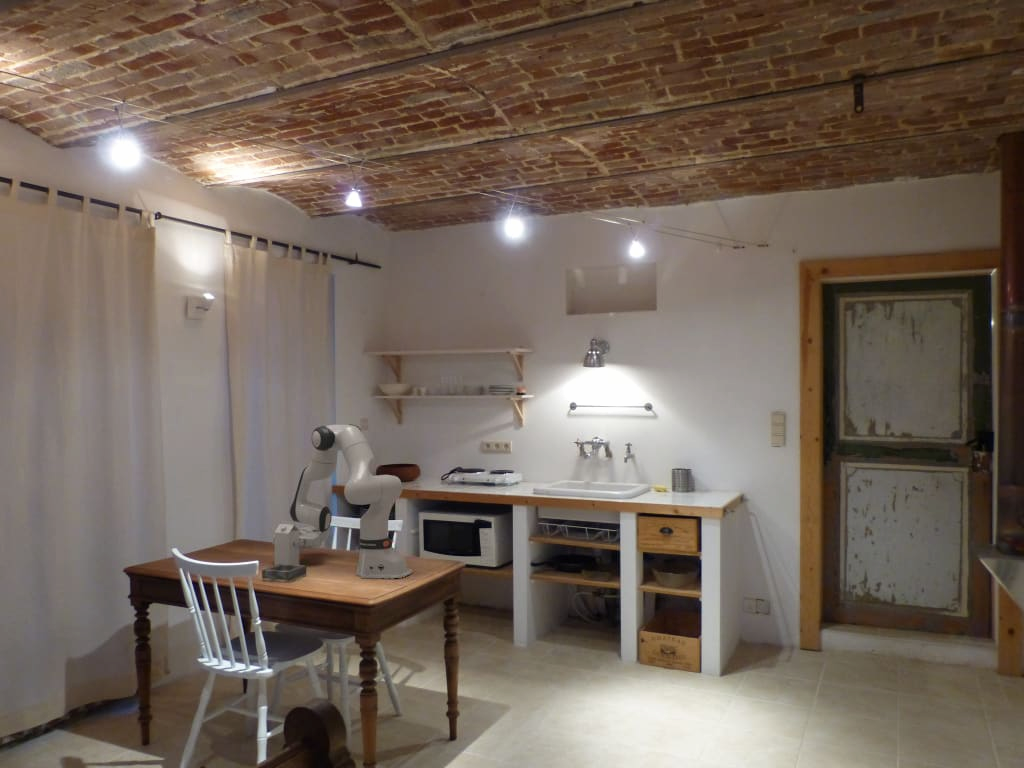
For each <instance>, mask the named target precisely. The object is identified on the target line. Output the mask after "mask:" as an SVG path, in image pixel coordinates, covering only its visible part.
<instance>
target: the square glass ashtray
mask: <svg viewBox="0 0 1024 768" xmlns="http://www.w3.org/2000/svg"><path fill="white" fill-rule="evenodd" d="M305 575H306V576H307V565H306V564H304V565H303V564H302V565H301V564H299V565H290V564H278V565H276V566H275V565H273V566H271V567H270V566H269V567H268V568H265V569H262V570H261V581H262V580H269V581H268V582H273V581H284V582H283V583H286V582H290V581H292V582H294V581H293V580H295V581H297V580H299V579H298V578H300V577H302V578H304V577H303V576H305ZM306 576H305V577H306ZM296 579H297V580H296ZM300 579H301V578H300ZM290 583H291V582H290Z"/></svg>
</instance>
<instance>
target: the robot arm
mask: <svg viewBox="0 0 1024 768" xmlns="http://www.w3.org/2000/svg"><path fill="white" fill-rule="evenodd" d="M311 442H312V446H313V447H312V451H311V456H310V463H309V465H307V466H306V467H304V469H303V470H302V472H301V475H300V477H299V480H298V484H297V487H296V491H295V496H294V498H293V501H292V503H291V506H290V509H289V515H290V519H291V520H292V522H294V523H295V522H296V523H300V524H301V523H302V524H306V525H307V526H304V527H301V528H298V529H299V541H295V542H293V546H299V549H300V550H301V549H304V550H305V549H309V548H320V547H321V546H322V543H323V542H326V540H327V539H328V538H329V536H330V534H331V528H330V526H331V523H332V513H331V510H330V508H329V507H328V506H326V505H322V504H320V503H315V502H311V501H309V500H308V498H307V497H308V494H309V491H310V487H311V484H312V483H313V482H314V481H315V482H317V481H322V480H326V479H328V478H330V477H331V476H333V475H334V474H335V472H336V468H337V464H338V453H339V451H341V453H342V454H343V457H344V459H345V462H346V464H347V465H346V466H347V467H348V470H349V479H348V480H347V482H346V483H345V485H344V488H343V494H344V498H345V500H346V501H347V502H348V503H349V504H352V505H359V506H360V505H361V506H364V505H370V506H369V508H368V509H367V511H366V512H365V513H364V514H363V515H362V516H361V517H360V519H359V539H358V551H359V553H358V554H359V556H358V563H357V568H356V571H355V574H356V575H357V576H358V577H360V578H361V579H382V578H384V580H385V579H387V580H388V579H389V578H390V579H391V580H392V579H393V580H395V579H394V578H399V579H403V578H406V577H408V576H407V575H409V574H410V575H412V574H413V573H412V572H413V569H412V568H408V565H407V560H406V557H405V556H404V555H403V554H401V553H400V552H399V551H397V550H396V549H395V547H393V543H394V540H395V539H390V537H389V519H390V518H389V517H390V513H391V512H392V511H391V510H392V508H393V506H394V504H395V502H396V501H397V500H398V499H399V498H400V497H401V495H402V493H403V483H402V481H401V479H400V478H399V477H398V476H396V475H391V474H379V475H373V474H372V472H371V470H372V469H373V468H374V467H375V464H376V458H375V455H374V453H373V450H372V448H371V446H370V445H369V442H368V440H367V439H366V437H365V435H364V433H363V432H362V429H361V428H360V427H359V426H358V425H357V424H355V425H354V424H352V423H349V424H337V423H336V424H329V425H321V426H317V427H315V428H314V429H313V431H312V433H311ZM271 541H272V542H271V543H272V545H274V546H275V535H273V536H272V540H271ZM411 573H412V574H411ZM410 575H409V576H410ZM405 576H406V577H405ZM402 577H403V578H402Z"/></svg>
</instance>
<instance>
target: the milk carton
mask: <svg viewBox="0 0 1024 768" xmlns="http://www.w3.org/2000/svg"><path fill="white" fill-rule="evenodd" d="M299 529H300V528H298V527H297V526H296V525H295V521H285V520H284V521H282V520H280V521H279V525H278V527H277V528H276V530H275V531H274V536H275V545H274V566H276V565H278V564H290V565H300V548H299V546H293V542H295V541H299Z"/></svg>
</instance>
